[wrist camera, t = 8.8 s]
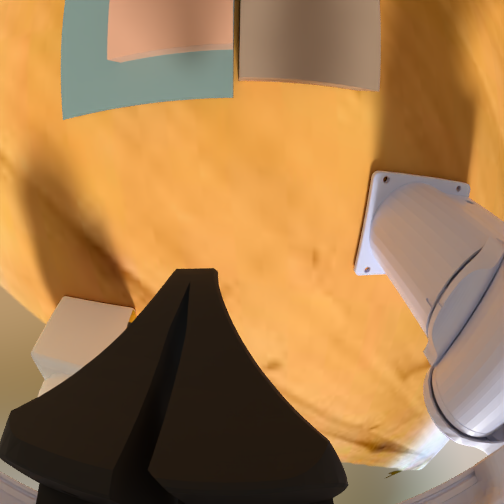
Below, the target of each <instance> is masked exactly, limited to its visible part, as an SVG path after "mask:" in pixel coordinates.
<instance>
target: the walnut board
mask: <svg viewBox="0 0 504 504" xmlns="http://www.w3.org/2000/svg"><path fill="white" fill-rule="evenodd" d="M380 65H381V23H380V0H240V15H239V81H272V82H290V83H303V84H313V85H322V86H330V87H338V88H345V89H351V90H359V91H379V89H380Z"/></svg>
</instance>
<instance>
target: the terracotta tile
mask: <svg viewBox="0 0 504 504" xmlns="http://www.w3.org/2000/svg"><path fill="white" fill-rule="evenodd" d="M209 50H233V0H110V2H109V15H108V37H107V60H110V61H115V62H120V63H121V62H126V61H131V60H136V59H142V58H147V57H153V56H160V55H167V54H175V53H184V52H195V51H209Z"/></svg>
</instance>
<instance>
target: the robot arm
mask: <svg viewBox="0 0 504 504" xmlns="http://www.w3.org/2000/svg"><path fill="white" fill-rule="evenodd" d="M385 176H387V180H386V181H385V182H383V179H384V177H385ZM457 187H458V188H457ZM456 188H457V190H456ZM469 193H470V186H469V184H467V183H465V182H459V181H453V180H447V179H441V178H435V177H428V176H421V175H413V174H405V173H397V172H388V171H375V172H374V173H373V174H372V177H371V183H370V189H369V195H368V201H367V207H366V213H365V218H364V223H363V228H362V233H361V238H360V243H359V248H358V252H357V257H356V261H355V266H354V271H355V273H356V274H357V275H376V274H386V275H387V276H388V278H389V279H390V280H391V282H392V283H393V285H394V286H395V288H396V289H397V291H398V292H399V294H400V295H401V297H402V298H403V300H404V301H405V303H406V304H407V306H408V307H409V309H410V310H411V312H412V314H413V315H414V317H415V318H416V320H417V321H418V323H419V325H420V326H421V328H422V329H423V331H424V333H425V334H426V336H427V338H428V344H427V346H426V348H425V349H424V351H423V352H424V354H425V356H426V357H427V359H428V361H429V363H430V365H431V367H430V368H429V370H428V372H427V373H426V376H425V379H424V385H423V394H424V400H425V404H426V407H427V410H428V412H429V414H430V417H431V419H432V420H433V422H434V423H435V425H436V426H437V427H438V428H439V430H440V431H441V432H442V433H443V434H444V435H446V436H447V437H448V438H449V439H451V440H453V441H454V442H457V443H459V444H461V445H466V446H472V447H475V448H478V449H480V450H482V451H484V452H485V453H486V454H488V456H487V457H486V458H484V459H483V460H481V461H480V462H478V463H477V464H475V465H474V466H473V467H471V468H469V469H468V470H466V471H464V472H463V473H461V474H459V475H457V476H455V477H454V478H452V479H450V480H448V481H447V482H445V483H443V484H441V485H439V486H437V487H435V488H433V489H430V490H428V491H426V492H424V493H422V494H419V495H417V496H415V497H412V498H410V499H408V500H405V501H402V502H400V503H397V504H504V222H503V221H502V220H500V219H499V218H498V217H496V216H495V215H493V214H492V213H491V212H489V211H488V210H486V209H485V208H483V207H482V206H481V205H479V204H478V203H476V202H475V201H473V200H472V199H470V198H469ZM366 267H368V269H366V270H365V268H366ZM0 458H1V459H2V460H3V461H4V462H6V463H7V464H9V465H10V466H12V467H13V468H15V469H16V470H18V471H20V472H21V473H23V474H25V475H26V476H28V477H30V478H31V479H33V480H35V481H37V482H39V483H40V484H39V489H38V491H36V490H33V489H32V488H30V487H28V486H26V485H24V484H22V483H20V482H18V481H16V480H14V479H13V478H11V477H9V476H7V475H5V474H4V473H2V472H0V504H334V503H333V497H335V496H337V495H338V494H340V493H341V492H343V491H344V490H345V489H346V488H347V486H348V482H347V477H346V474H345V471H344V468H343V466H342V463H341V461H340V459H339V457H338V455H337V453H336V452H335V450H334V448H333V446H332V445H331V443H330V441H329V440H328V439H327V438H326V437H324V436H323V435H322V434H321V433H320V432H319V431H317V430H316V429H315V428H314V427H313V426H312V425H311V424H310V423H309V422H308V421H306V420H305V419H304V418H303V417H302V416H301V415H300V414H299V413H298V412H297V411H296V410H295V409H294V408H293V407H292V406H291V405H290V404H289V402H288V401H287V400H286V399H285V398H284V397H283V396H282V395H281V394H280V392H279V391H278V390H277V389H276V388H275V386H274V385H273V384H272V383H271V382H270V380H269V379H268V378H267V377H266V375H265V374H264V373H263V372H262V370H261V369H260V367H259V366H258V365H257V363H256V362H255V360H254V359H253V357H252V356H251V354H250V353H249V351H248V350H247V348H246V346H245V345H244V343H243V341H242V340H241V338H240V336H239V334H238V332H237V330H236V328H235V326H234V325H233V323H232V320H231V318H230V316H229V314H228V311H227V309H226V306H225V304H224V301H223V298H222V295H221V292H220V288H219V284H218V271H216V270H215V269H214V268H209V269H176V270H175V271H174V272H173V273H172V275H171V276H170V277H169V279H168V280H167V281H166V282H165V284H164V285H163V286H162V288H161V289H160V290H159V291H158V293H157V294H156V295H155V296H154V297H153V299H152V300H151V301H150V302H149V303H148V305H147V306H146V307H145V308H144V310H143V311H142V312H141V313H140V314H139V315H138V316H137V317H136V318H135V320H134V321H133V322H132V323H131V324H130V325H129V326H128V327H127V328H126V329H125V330H124V331H123V332H122V333H121V334H120V335H119V336H118V337H117V338H116V339H115V340H114V341H113V342H112V343H111V344H110V345H109V346H108V347H107V348H106V349H105V350H104V351H102V352H101V353H100V354H99V355H98V356H96V357H95V358H94V359H93V360H91V361H90V362H89V363H87V364H86V365H85V366H84V367H82V368H81V369H80V370H79V371H77V372H76V373H75V374H73V375H72V376H70V377H69V378H68V379H66V380H65V381H63V382H62V383H60V384H59V385H57V386H56V387H54V388H52V389H51V390H49V391H48V392H46V393H44V394H43V395H41V396H39V397H37V398H35V399H34V400H31V401H30V402H28V403H26V404H24V405H22V406H20V407H18V408H16V409H14V410H12V411H11V413H10V415H9V418H8V420H7V423H6V426H5V429H4V432H3V435H2V438H1V441H0Z"/></svg>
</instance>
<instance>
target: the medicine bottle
mask: <svg viewBox="0 0 504 504" xmlns="http://www.w3.org/2000/svg"><path fill="white" fill-rule="evenodd" d="M135 318H136V312H135V309H134V308H131V307H124V306H118V305H112V304H106V303H100V302H95V301H89V300H84V299H79V298H73V297H68V296H64V297H63V298H62V299H61V301H60V302H59V304H58V305H57V307H56V309H55V310H54V312H53V314H52V315H51V317H50V319H49V321H48V322H47V324H46V326H45V328H44V330H43V331H42V333H41V335H40V337H39V338H38V340H37V342H36V344H35V346H34V348H33V350H32V352H31V356H32V358H33V360H34V362H35V364H36V365H37V367H38V369H39V371H40V372H41V374H42V376H43V377H44V379H45V381H44V382H43V384H42V387H41V389H40V392H39V395H38V397H39V396H41V395H43V394H44V393H46V392H48V391H49V390H51V389H52V388H54V387H56V386H57V385H59V384H60V383H62V382H63V381H65V380H66V379H68V378H69V377H70V376H72V375H73V374H75V373H76V372H77V371H79V370H80V369H81V368H82V367H84V366H85V365H86V364H87V363H89V362H90V361H91V360H93V359H94V358H95V357H96V356H98V355H99V354H100V353H101V352H102V351H104V350H105V349H106V348H107V347H108V346H109V345H110V344H111V343H112V342H113V341H114V340H115V339H116V338H117V337H118V336H119V335H120V334H121V333H122V332H123V331H124V330H125V329H126V328H127V327H128V326H129V325H130V324H131V323H132V322H133V321H134V320H135Z"/></svg>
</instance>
